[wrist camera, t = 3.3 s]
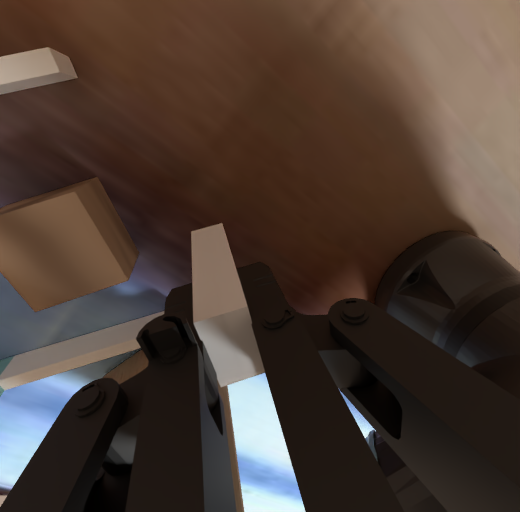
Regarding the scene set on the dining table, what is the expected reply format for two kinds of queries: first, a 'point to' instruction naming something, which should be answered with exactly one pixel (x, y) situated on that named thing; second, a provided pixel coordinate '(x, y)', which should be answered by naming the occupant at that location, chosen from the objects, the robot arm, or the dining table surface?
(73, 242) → the walnut block
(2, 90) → the walled lane
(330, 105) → the dining table surface
